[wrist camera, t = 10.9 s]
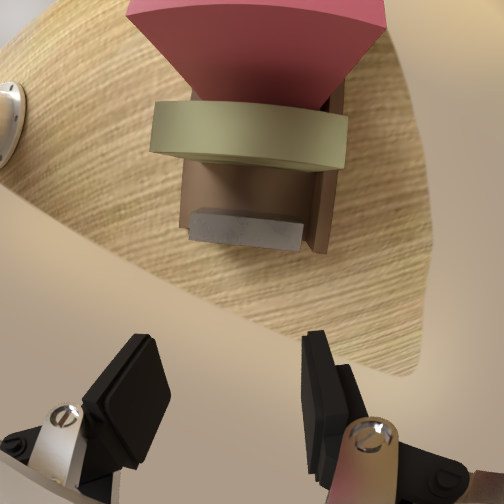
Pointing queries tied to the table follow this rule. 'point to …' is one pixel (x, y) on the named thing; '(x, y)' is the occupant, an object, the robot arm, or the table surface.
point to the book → (261, 45)
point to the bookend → (246, 228)
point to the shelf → (266, 189)
